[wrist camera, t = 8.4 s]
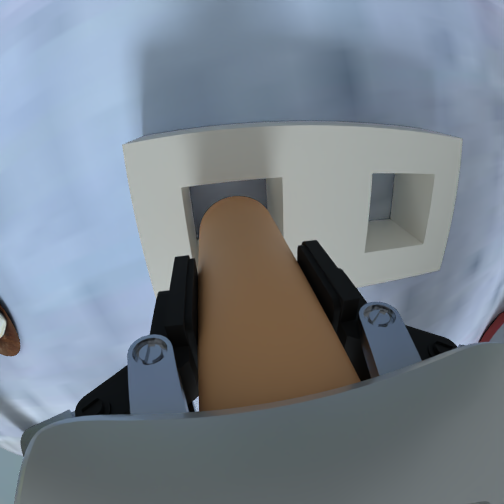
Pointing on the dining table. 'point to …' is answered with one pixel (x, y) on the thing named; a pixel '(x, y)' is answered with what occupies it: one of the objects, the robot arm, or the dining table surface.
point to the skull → (8, 336)
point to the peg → (259, 315)
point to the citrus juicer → (495, 331)
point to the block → (303, 191)
